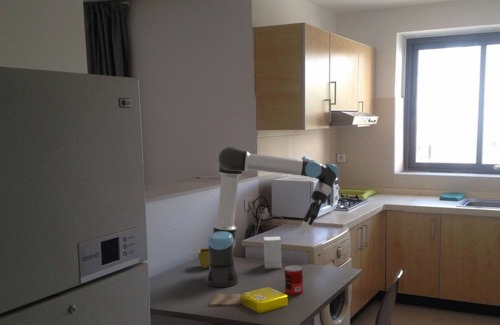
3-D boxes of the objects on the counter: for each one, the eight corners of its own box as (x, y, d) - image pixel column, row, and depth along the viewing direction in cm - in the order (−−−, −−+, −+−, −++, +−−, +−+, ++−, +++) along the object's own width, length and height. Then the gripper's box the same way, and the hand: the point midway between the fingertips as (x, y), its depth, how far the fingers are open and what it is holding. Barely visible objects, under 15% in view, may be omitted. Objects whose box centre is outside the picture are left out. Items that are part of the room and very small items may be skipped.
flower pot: (215, 268, 253) (214, 252, 252) (198, 269, 253) (197, 252, 253) (216, 264, 262) (216, 248, 261) (200, 264, 262) (200, 248, 261)
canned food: (305, 290, 213) (304, 265, 212) (299, 296, 205) (298, 270, 205) (289, 288, 216) (288, 264, 215) (282, 294, 209) (281, 269, 208)
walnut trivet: (209, 305, 198) (209, 304, 198) (213, 296, 210) (213, 294, 210) (238, 305, 197) (238, 303, 197) (241, 295, 209) (241, 294, 209)
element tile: (290, 305, 196) (289, 294, 195) (259, 314, 187) (259, 302, 187) (268, 296, 208) (268, 285, 208) (239, 303, 200) (239, 292, 200)
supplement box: (282, 268, 249) (280, 239, 248) (264, 269, 249) (263, 240, 248) (281, 263, 258) (280, 236, 257) (264, 264, 258) (263, 236, 257)
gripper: (334, 192, 222) (316, 233, 217) (321, 200, 246) (304, 238, 241) (320, 185, 222) (301, 226, 217) (308, 194, 246) (291, 231, 241)
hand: (303, 232), depth 229 cm, fingers open, 13 cm apart
